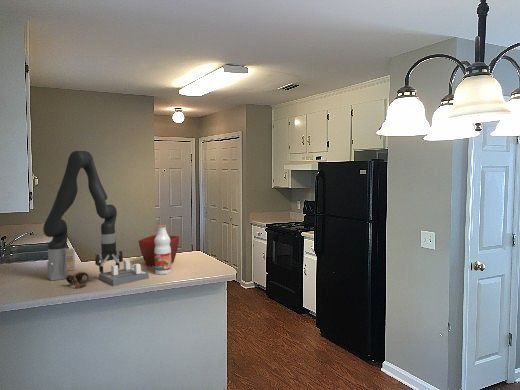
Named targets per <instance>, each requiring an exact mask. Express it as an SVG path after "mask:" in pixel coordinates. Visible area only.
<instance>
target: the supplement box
mask: <svg viewBox="0 0 520 390" xmlns="http://www.w3.org/2000/svg"><path fill="white" fill-rule="evenodd" d="M75 257H76V256H75V247H70V248H67V247H66V258H67V272H68V271H75V269H76V259H75Z"/></svg>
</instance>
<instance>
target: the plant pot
mask: <svg viewBox="0 0 520 390" xmlns="http://www.w3.org/2000/svg"><path fill="white" fill-rule="evenodd" d="M156 235H157V234H156ZM156 235H149V236H148V237H144V238H141V239H138V246H139V249H140V254H141V255H142V259H143V261H144V263H145V266H146V267H154V268H155V254H154V249H155V242H154V239H155V237H156ZM168 236H169V237H170V247H171V264H173V263H174V262H175V259H176V255H177V254H178V253H177V252H178V248H179V247H178V246H179V242H180V236H178V235H168Z"/></svg>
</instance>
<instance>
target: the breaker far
mask: <svg viewBox="0 0 520 390" xmlns="http://www.w3.org/2000/svg"><path fill="white" fill-rule="evenodd" d="M130 268H131V260H129V259H125V260H124V259H123V269H125V270H129V269H130Z"/></svg>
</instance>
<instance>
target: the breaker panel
mask: <svg viewBox="0 0 520 390" xmlns="http://www.w3.org/2000/svg"><path fill="white" fill-rule="evenodd" d="M149 277H150V276H149V272H146V271H144V270H142V269H141V273H140V274H135V273H134V266H133V267H130V269H129V270H125V269H124V268H122V269H119V270H118V275H112V274H111V270H110V271H107V272H103V273H101V272H100V273H98V279H99V280H101V281H103V282H105V283H107V284H109V285H111V286H113V287H115V286H119V285H124V284H128V283H134V282H138V281H142V280H149V279H150V278H149Z"/></svg>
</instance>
